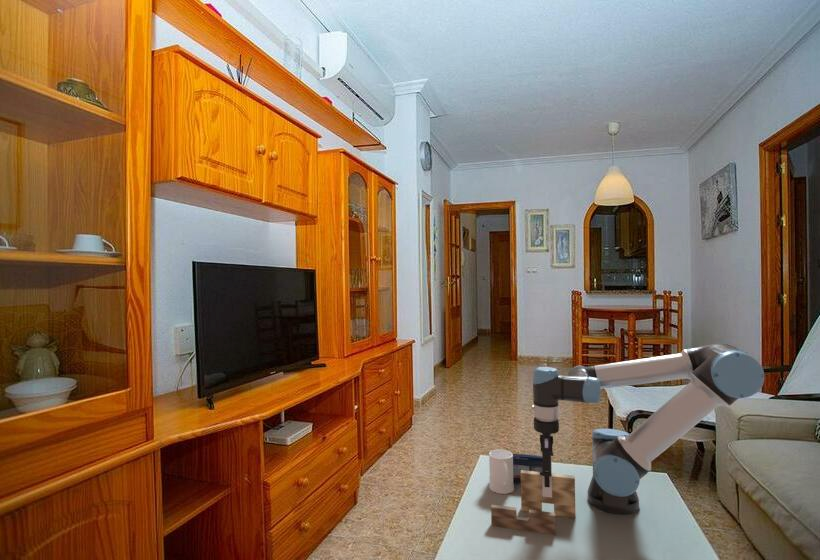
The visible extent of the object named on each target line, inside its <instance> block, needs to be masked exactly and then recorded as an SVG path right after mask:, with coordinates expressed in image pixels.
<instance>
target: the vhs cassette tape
mask: <svg viewBox="0 0 820 560" xmlns="http://www.w3.org/2000/svg"><path fill="white" fill-rule="evenodd" d="M511 453H512V452H511ZM512 454H513V484H515V483H516V485H517V484H518V485H521V470H525V471H535V472H542V455H534V454H524V453H523V454H522V453H512Z"/></svg>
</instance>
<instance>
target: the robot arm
mask: <svg viewBox="0 0 820 560" xmlns="http://www.w3.org/2000/svg"><path fill="white" fill-rule="evenodd" d="M532 372H533V374H532V393H533V394H532V396H533V397H532V398H533V405H532V406H531V409H532V410H533V416H534V417H533V429H534V431H535V432H537V433H540V435H539V443H540V452H541V454H542V455H541V456H542V473H541V472H540V475H542V496H543V497H551V498H552V471H553V470H552V457H554V452H553V450H554V449H553V445H554V435H555V434H557V433H559V431H560V420H559V418H560V404H559V403H560V402H559V401H564V402H565V401H566V402H576V403H585V404H593V403H594V404H598V403H600V402H601V395H602V394H601V390H602V389H612V388H618V387H627V386H636V385H643V384H651V383H659V382H667V381H669V382H670V381H676V380H686V379H688V380H690V381H689V383H687V384H686V385H685V386H683V388H681V389H680V390H679V391H678V392H676V393H675V394H674V396H672V397H670V399H669V400H668V401H667V402H665V403H664V404H663V405H661V406H660V407H659V408H658V409H657V410H656V411H655V412H653V413H652V414H651V415H650V416H648V418H646V420H644V421H643V422H642V423H641V424H639V425H638V426H637V427H636V428H635V429H634V430H633V431H631V433H629V432H627V431H624V430H620V429H615V428H614V429H613V428H595V429H594V430H593V431H592V435H591V439H592V440H591V441H592V446H591V447H592V477H591V479H590V482H589V485H588V489H587V500H588V502H589V504H591V505H592V506H593V507H595V508H597V509H599V510H600V511H601V510H602V511H604V512H607V513H610V514H617V515H628V514H633V513H635V512H637V511H638V510H639V509H640V499H639V496H638V492H637V490H638V488H639V486H640V481H641V479H642V478H644V476H646V475H647V474H648V473H649V472H651V471H652V461H654V460H655V459H656V458H657V457H659V456H660V455H661V454H663V453H664V452H665V451H666V450H667V449H669V448H670V447H671V446H672V445H673V444H674V443H676V442H678V440H679V439H680V438H682V437H683V436H684V435H686V433H688V432H689V431H690V430H691V429H693V428H694V427H695V426H696V425H698V424H699V423H700V422H701V421H702V420H704V419H705V418H706V417H707V416H708V415H710V414H711V413H713V411H714V410H716V409H717V408H718V407H730V406H731V405H733V404H734V403H735V402H737V401H738V400H739V399H744V398H749V397H752V396H754V395H756V394H757V393H758V392H760V390H761V389H762V387H763V386H764V383H765V372H764V368H763V367H762V365H761V363H760V362H759V361H758V360H757V359H756V358H755V357H754V356H753V355H751V354H749V353H748V352H747V351H745V350H742V349H739V348H738V347H735V346H733V345H730V344H727V343H726V344H725V343H712V344H709V345H708V344H706V345H702V346H696V347H690V348H685V349H682V350H681V352H680V353H674V354H666V355H661V356H660V355H659V356H652V357H646V358H639V359H632V360H631V359H630V360H624V361H619V362H618V361H617V362H612V363H611V362H610V363H606V364H605V363H603V364H598V365H591V366H584V365H576V366H574V367H573V368H571V369H570V371H569V372H568V375H562V374H560V373H559V370H558V369H557V368H555V367H550V366H539V367H536V368H535V369H534V370H533V371H532ZM552 434H554V435H552Z"/></svg>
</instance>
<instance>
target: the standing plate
mask: <svg viewBox="0 0 820 560" xmlns="http://www.w3.org/2000/svg"><path fill="white" fill-rule="evenodd" d="M490 513H491V514H490V515H491V516H490V517H491V518H490V519H491V521H490V522H491V526H493V527H496V528H497V527H499V528H504V529H512V530H518V531H519V530H520V531H526V532H531V533H540V534H546V535H553V536H556V515H555V513H554V512H550V511H545V510H544V511H543V510H542V511H537V510H529V512H528V517H525V516H517V513H518V512H517V507H514V506H505V505H498V504H491V506H490Z"/></svg>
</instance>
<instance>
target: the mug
mask: <svg viewBox="0 0 820 560" xmlns="http://www.w3.org/2000/svg"><path fill="white" fill-rule="evenodd" d="M513 454H514V453H513ZM513 454H512V452H511V451H509V450H507V449H494V450H490V451H489V453H488V458H489V465H488V466H489V489H490V491H492V492H493V493H495V492H496V494H500V495H506V494H511V493H513V492H514V491H515V487H514V484H515V483H513Z"/></svg>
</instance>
